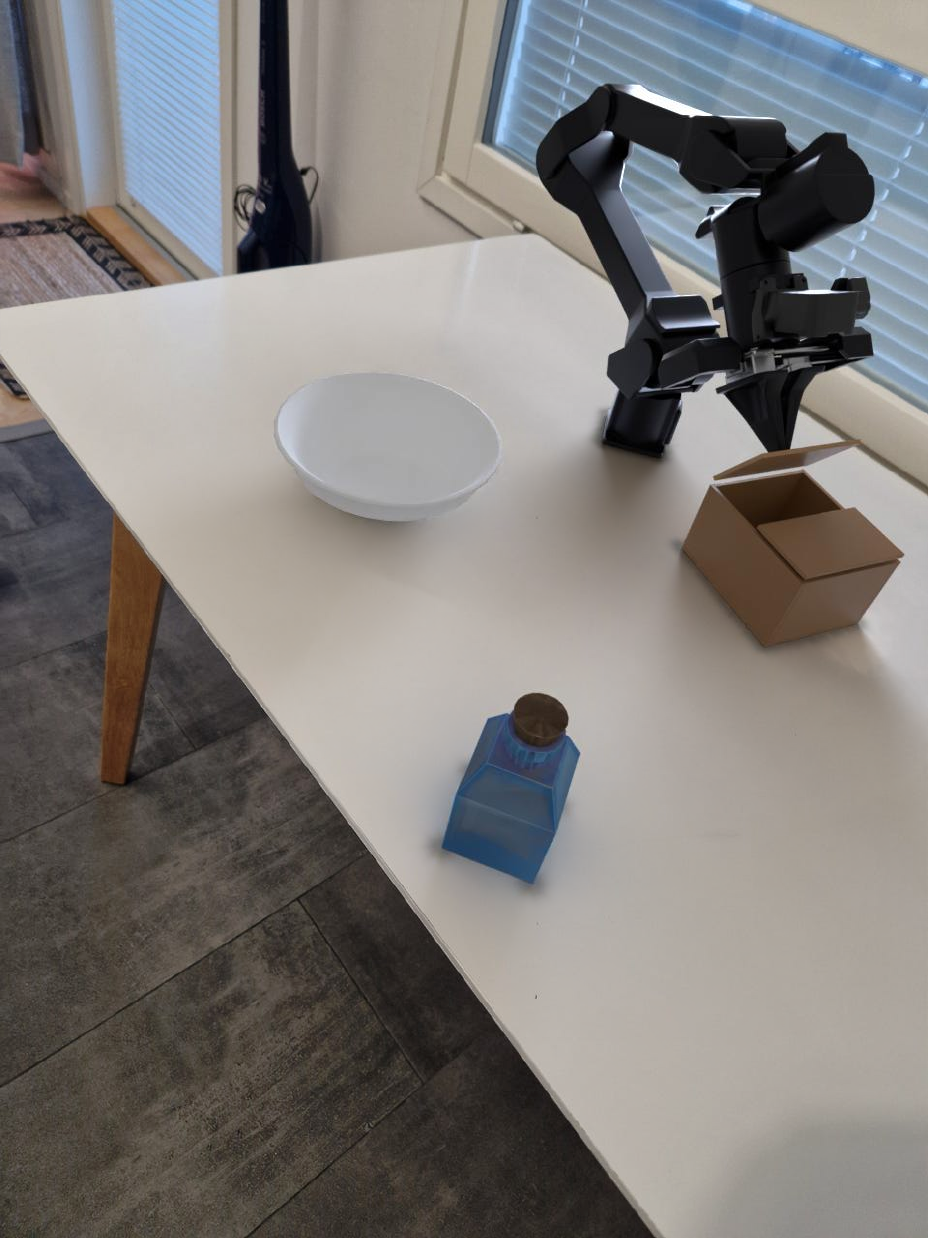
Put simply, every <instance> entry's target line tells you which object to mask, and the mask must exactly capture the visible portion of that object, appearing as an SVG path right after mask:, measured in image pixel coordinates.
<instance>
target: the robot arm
mask: <svg viewBox="0 0 928 1238" xmlns="http://www.w3.org/2000/svg"><path fill="white" fill-rule="evenodd" d="M635 144H636V145H639V146H641V147H643V148H645V149H648V150H650V151H652V152H654V153H657V154H659V155H661V156H663V157H665V158H668V159H670V160H671V161H672V162H674V163H675V164H676V165H677V172H678V174H679V176H680V178H682V179H683V180H684V181H685V182H686V183H687V184H689V185H690V186H691V187H692V188H693V189H694V190H696V192H698V193H699V194H701V195H707V196H708V195H711V196H712V195H713V196H714V195H721V196H722V195H735V196H736V195H738V196H739V195H748V196H741V197H739V198H737V199H736V200H733V201H732V202H731V203H729V204H728V205H710V206H708V208H707V212H706V214H705V216H704V218H703V219H702V221H701V222H700V223H699V224H698V226H697V228H696V231H695V233H694V237H695V239H696V240H713V245H714V249H715V250H714V251H715V258H716V264H717V272H718V278H719V279H718V280H719V286H720V294H718V295H717V296H715V297H712V298H711V303H712V309H713V311H723V313H724V321H725V327H726V334H727V336H723V337H721V335H720V333H719V331H718V330H719V329H721V324H720V323H719V322H718V321H717V320H715V319H714V317H713V315H712V313H711V311H710V309H709V305H708V302H707V300H706V299H705V298H704V297H703V296H702V295H701V294H688V295H687V294H686V295H678V294H677V293H676V292H675V291H674V289H673V287H672V286H671V284H670V281H669V279H668V278H667V276H666V274H665V272H664V270H663V268H662V266H661V263H660V262H659V260H658V258H657V256H656V254H655V253H654V250H653V248H652V247H651V245H650V243H649V241H648V239H647V237H646V235H645V233H644V232H643V230H642V228H641V226H640V224H639V222H638V220H637V218H636V216H635V214H634V212H633V210H632V208H631V207H630V205H629V203H628V200H627V199H626V196H625V194H624V193H623V191H622V181H623V177H624V171H625V167H626V165H625V164H626V163H627V162H628V161H629V160H630V159H631V158H632V156H633V155H634V148H635ZM535 168H536V171H537V175H538V177H539V180H540V182H541V184H542V186H543V187H544V188H545V190H546V191H547V192H548V195H550V197H551V198H552V200H553V201H554V202H556V203H557V204H558V205H560V206H562V207H563V208H565V209H566V210H568V211H570V212H571V213H573V214H574V215H576V216H577V217H578V219H579V221H580V223H581V225H582V228H583V230H584V232H585V234H586V236H587V237H588V240H589V242H590V245H591V246H592V248H593V250H594V252H595V255H596V256H597V258H598V260H599V262H600V265H601V267H602V269H603V270H604V273H605V274H606V276H607V279H608V281H609V282H610V284H611V287H612V289H613V290H614V293H615V295H616V297H617V299H618V301H619V303H620V305H621V307H622V309H623V311H624V313H625V315H626V318H627V320H628V325H627V329H626V335H625V339H624V346H623V347H622V348H620V349H618V350H615V351H614V352H612V353H609V354H608V356H607V367H606V377H607V378H608V379H609V380H610V381H611V382H612V383H613V384H614V385H615V387H616V391H615V394H614V397H613V400H612V404H611V407H610V408H608V410H607V412H606V417H605V421H604V428H603V433H602V439H601V441H602V443H604V444H606V445H610V446H614V447H616V448H617V447H618V448H621V449H624V450H628V451H633V452H637V453H640V454H644V455H648V456H652V457H655V458H662V457H663V456H664V454H665V446H668V445H670V444H671V441H672V439H673V437H674V434H675V431H676V428H677V426H678V424H679V421H680V418H681V416H682V413H683V400H682V394H683V393H698V392H699V391H700V390H701V388H703V386H704V385H705V383H708V382H709V381H710V380H712V378H714V376H715V374H724V373H725V376H724V380H725V384H724V385H721V386H718V387H715V393H716V394H717V395H724V396H725V398H726V400H728V401H729V402H730V404H731V405H732V406H733V407H734V408H735V410H736V411H737V412H738V413H739V414H740V416H741V417H742V418H743V420H745V422H746V423H747V425H748V426H749V428H750V429H751V430H752V432H753V433H754V435H755V436H756V438H757V439H758V441H759V442H760V443H761V445H762V447H764V449H765V450H766V453H769V452H775V451H782V450H789V449H792V448H791V447H792V443H793V438H794V433H795V429H796V424H797V420H798V415H799V409H800V407H801V403H802V399H803V396H804V393H805V391H806V389H807V388H808V387H809V385H810V384H811V382H812V381H813V380H814V379H815V377H816V376H819V375H821V374H825V373H828V372H830V371H835V370H837V369H840V368H844V367H847V366H849V365H852V364H855V363H858V362H861V361H865V360H867V359H870V358H871V359H872V358H874V355H875V354H874V348H873V339H872V334H871V332H869V331H868V330H867V329H865V328H864V327H863V326H855V325H856V320H864V319H865V318H866V317H867V316H868V314H869V312H870V310H871V308H872V305H871V294H870V293H871V292H870V288H869V285H868V280H867V277H866V276H847V277H846V276H844V277H843V276H841V277H836V278H835V279H834V281H833V283H832V285H831V287H830V289H809V288H810V287H809V282H808V277H806V276H805V274H804V272H798V273H797V272H796V273H795V272H794V273H793V271H792V270H793V269H792V264H791V257H790V253H800V252H803V251H806V250H807V249H809V248H812V247H814V246H816V245H817V244H819V243H822V242H823V241H825V240H827V239H829V238H831V237H833V236H835V235H837V234H839V233H840V232H843V231H845V230H846V229H848V228H850V227H852V226H854V225H857V224H858V223H860V222H862V221H863V220H864V219H866V218H867V217H868V215H869V214H870V212H871V211H872V208H873V205H874V202H875V196H876V187H875V186H876V185H875V180H874V176H873V175H872V174H870V173H869V169H868V167H867V165H866V163H865V162H864V160H863V159H862V157H861V156H860V155H859V154H858V153H857V152H856V151H854V150H853V149H852V148H849V144H848V135H847V133H845V132H840V131H824V132H823V133H821V134H820V135H818V136H817V137H816V138H814V139H813V140H811V142H810V143H809V144H808V145H807V146H806V147H805V148H803V149H801V150H800V149H798V148H797V147H796V146H795V145H793V143H791V141H790V140H788V139H787V127H786V126H785V124H784V123H783V122H782V121H780V120H779V119H778V118H775V117H756V116H755V117H754V116H735V115H734V116H733V115H713V114H711V113H708V112H704V111H702V110H700V109H697V108H693V107H692V106H689V105H686V104H683V103H680V102H677V101H675V100H672V99H669V98H667V97H664V96H661V95H659V94H656V93H654V92H650V91H649V90H648V89H646V88H644V87H643V86H642V85H640V84H625V83H610V82H609V83H604V84H603V85H599V86H597V87H596V88H595V89H594V90H593V92H591V94H590V96H589V97H588V98H587V99H586V100H585V102H583V103H581V104H580V105H578V106H577V107H575V108H573V109H571V111H569V112H567V113H566V114H564V115H562V116H561V117H560V118H558V119H557V120H556V121H555V122H554V123H553V125H552V127H551V128H550V129H549V131H548V132H547V133H546V135H545V136H544V137H543V139H542V140H541V142H540V143H539V145H538V147H537V150H536V154H535ZM749 195H750V196H749ZM751 195H758V196H751Z"/></svg>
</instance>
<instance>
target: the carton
mask: <svg viewBox="0 0 928 1238" xmlns="http://www.w3.org/2000/svg"><path fill="white" fill-rule="evenodd" d="M681 550H682V551H683V552H684V553H685V554H686V555H687V556H688V558H689V559H690V560H691V561H692V562H693V563H694V565H695V566H696V567H697V569H698V570H699V571H700V572H701V573H702V575H703V576H704V577H705V578H706V579H707V580H708V581H709V583H710V584H711V585H712V586H713V588H714V589H715V590H716V591H717V592H718V594H720V596H721V598H723V600H724V601H725V602H726V603H727V604H728V606H729V607H730V608H731V609H732V611H734V613H735V614H736V615H737V616H738V618H739V619H740V620H741V621H742V622H743V624H744V625H745V626H746V627H747V628H748V630H749V631H750V632H751V633H752V634H753V635H754V637H755V638H756V639H757V640H758V642H759V643H760V644H761V645H762V646H763V647H764V648H767V647H770V646H771V647H772V646H774V645H775V646H776V645H778V644H783V643H787V642H790V641H794V640H797V639H801V638H805V637H809V636H813V635H817V634H821V633H825V632H829V631H832V630H837V629H841V628H844V627H849V626H852V625H856V624H859V623H860V621H861V620H862V618H863V617H864V616H865V614H866V613H867V611H868V610H869V609H870V607H871V606H872V604H873V603H874V601H875V600H876V598H877V597H878V595H879V594H880V593H881V591H882V590H883V588H884V587H885V586H886V584H887V583H888V581H889V580H890V578H891V577H892V576H893V574H894V572H895V571H896V570H897V568H898V567H899V565H900V564H901V560H900V559H903V557H905V553H904V552H903V551H902V550H901V549H900V547H898V546H896V544H895V543H893V542H892V540H891V539H889V538H888V537H887V536H886V535H885V534H884V533H883V532H882V531H881V530H879V528H878V527H877V526H875V524H873V523H872V522H871V521H870V520H869V519H868V518H867V517H866V516H865V515H864V514H863V513H862V512H861V511H859V510H858V509H857V508H856V507H855V506H853V507H847V508H845V506H843V505H842V504H841V503H840V502H839V501H838V500H836V499H835V498H834V497H833V496H832V495H831V494H830V492H828V491H827V490H826V489H825V488H824V487H823V486H822V485H821V484H820V483H819V482H818V481H817V480H815V478H813V476H811V475H810V474H809V473H808V472H807V471H806V470H805V469H799V470H793V471H787V472H780V473H774V474H768V475H761V476H756V477H750V478H743V479H736V480H730V481H724V482H719V483H712V484H711V483H710V484H709V486H708V488H707V491H706V493H705V495H704V497H703V499H702V501H701V504H700V506H699V509H698V511H697V513H696V515H695V517H694V519H693V522H692V524H691V526H690V528H689V531H688V533H687V535H686V537H685V539H684V542H683V544H682V546H681Z"/></svg>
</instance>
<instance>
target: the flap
mask: <svg viewBox="0 0 928 1238" xmlns="http://www.w3.org/2000/svg"><path fill="white" fill-rule="evenodd" d="M861 444H862V442H861V439H860V438H858V439H851V440H845V441H838V442H831V443H824V444H823V443H822V444H817V445H810V446H803V447H796V448H790V449H789V450H782V451H775V452H769V453H768V452H763V453H759V454H757V455H755V456H754V457H753V456H752V457H751V458H749V459H747V460H745V461H742V462H741V463H738V464H736V465H734V466H732V467H729V468H728V469H725V470H723V471H721V472H719V473H717V474H715V475H712V477H713V481H715V482H716V481H722V480H727V479H734V478H740V477H746V476H752V475H759V474H765V473H771V472H779V471H784V470H791V469H796V468H803V467H809V466H810V465H813V464H816V463H818V462H820V461H823V460H826V459H828V458H830V457H833V456H835V455H837V454H840V453H841V452H842V453H843V452H844V451H846V450H849V449H851V448H853V447H856V446H858V445H861Z"/></svg>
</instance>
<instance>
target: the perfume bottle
mask: <svg viewBox="0 0 928 1238" xmlns="http://www.w3.org/2000/svg"><path fill="white" fill-rule="evenodd" d="M569 719H570V717H569V714H568V710H567V709H566V707H565V706H564V704H563V703H562V702H561V701H560V700H558V699H557V697H556V698H555V697H554V696H552V695H550V694H546V693H543V692H530V693H526V694H523V695H522V696H520V698H518V699H517V700H516V702H515V703H514V706H513V709H512V710H511V711H510V713H508V712H504V713H501V714H498V715H494V716H491V717H488V718H487V719H486V722H485V724H484V726H483V728H482V731H481V734H480V736H479V738H478V741H477V743H476V746H475V747H474V750H473V753H472V755H471V757H470V759H469V761H468V764H467V767H466V770H465V772H464V774H463V776H462V778H461V781H460V784H459V786H458V788H457V791H456V792H455V793H456V794H455V796H454V800H453V804H452V807H451V811H450V814H449V818H448V821H447V826H446V829H445V831H444V836H443V839H442V844H441V848H440V849H444V850H446V851H449V852H451V853H454V854H456V855H459V856H461V857H464V858H466V859H468V860H470V861H473V862H476V863H478V864H481V865H483V866H486V867H489V868H491V869H494V870H497V871H499V872H502V873H504V874H506V875H509V876H512V877H513V878H517V879H519V880H522V881H524V882H527V883H529V884H532V885H534V883H535V882H536V879H537V876H538V875H539V872H540V870H541V867H542V866H543V863H544V861H545V859H546V856H547V855H548V852H549V851H550V847H551V846H552V843H553V842H554V839H555V836H556V835H557V832H558V828H559V825H560V821H561V818H562V815H563V811H564V808H565V806H566V801H567V798H568V795H569V791H570V789H571V786H572V783H573V778H574V775H575V772H576V769H577V765H578V762H579V759H580V756H581V751H580V750H579V749H578V747H577V745H576V744H575V743H574V741H573V740H572V738H571V737H570V736H569V735H567V727H568V725H569V721H570V720H569Z"/></svg>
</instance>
